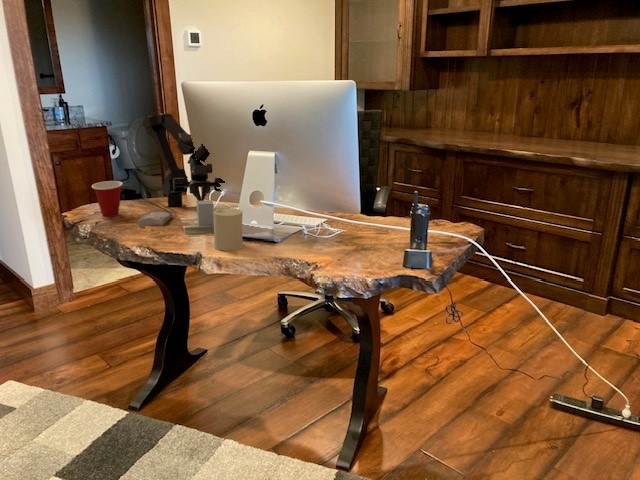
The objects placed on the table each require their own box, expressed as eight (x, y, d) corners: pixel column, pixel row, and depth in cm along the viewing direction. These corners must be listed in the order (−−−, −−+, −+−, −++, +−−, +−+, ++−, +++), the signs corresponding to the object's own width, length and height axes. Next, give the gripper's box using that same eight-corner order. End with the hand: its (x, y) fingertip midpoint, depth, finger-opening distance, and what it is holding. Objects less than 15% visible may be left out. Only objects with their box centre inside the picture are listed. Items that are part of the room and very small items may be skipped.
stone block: (137, 233, 182) (165, 228, 181) (133, 220, 180) (161, 215, 180) (148, 225, 193) (174, 221, 193) (144, 213, 192) (171, 208, 192)
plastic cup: (88, 214, 195) (85, 183, 191) (113, 209, 203) (110, 179, 200) (106, 220, 189) (103, 187, 185) (131, 214, 198) (128, 183, 194)
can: (217, 241, 170) (217, 206, 167) (245, 243, 170) (245, 207, 166) (210, 250, 162) (209, 213, 158) (239, 252, 161) (239, 214, 158)
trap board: (180, 221, 191) (180, 212, 190) (221, 219, 196) (221, 211, 195) (185, 237, 173) (184, 228, 172) (229, 234, 178) (229, 225, 177)
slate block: (197, 225, 183) (196, 200, 180) (211, 224, 184) (211, 200, 181) (199, 229, 178) (198, 204, 175) (213, 228, 180) (213, 203, 177)
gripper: (172, 155, 182) (175, 193, 176) (225, 155, 188) (230, 192, 182) (171, 173, 192) (174, 209, 185) (222, 172, 198) (226, 208, 191)
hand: (201, 204), depth 186 cm, fingers closed
